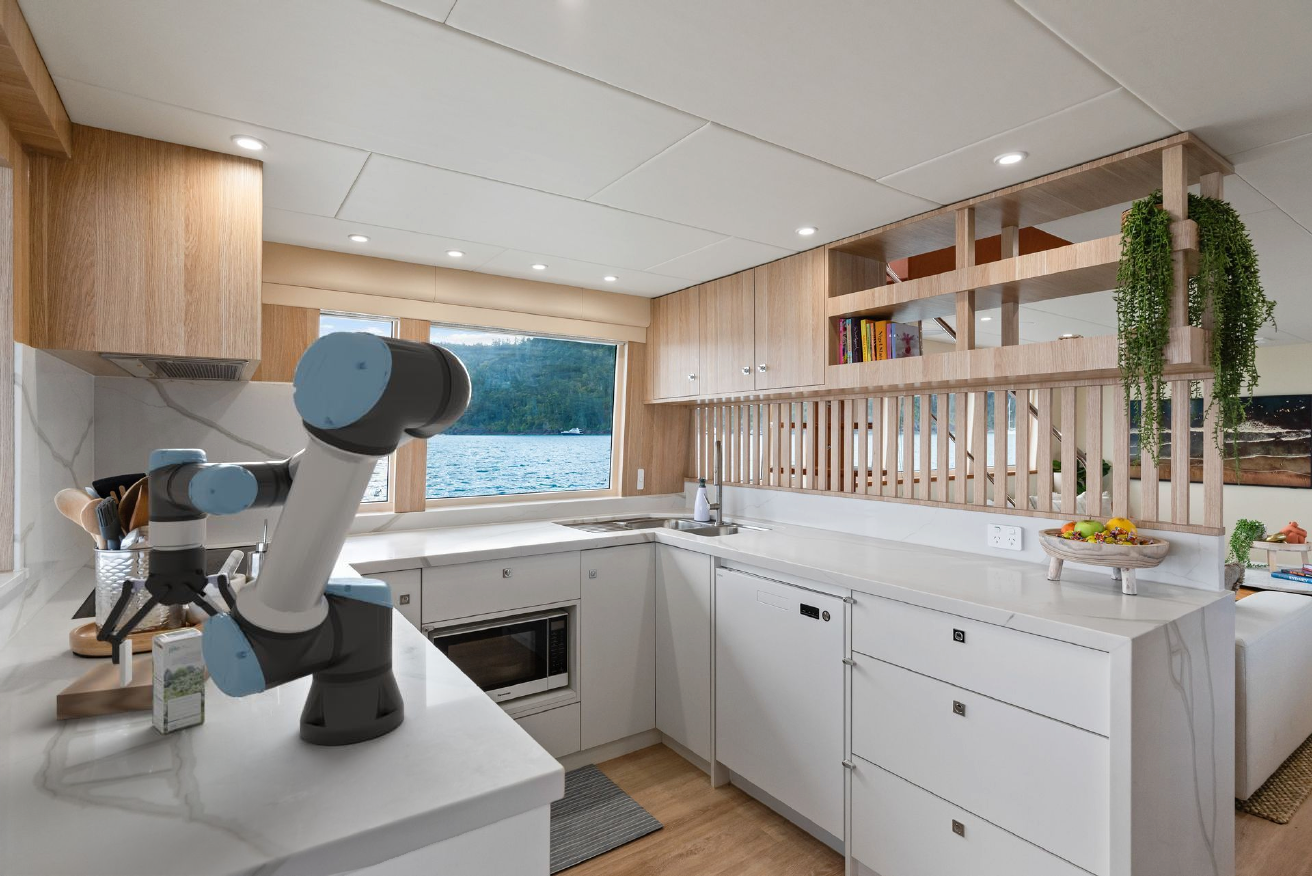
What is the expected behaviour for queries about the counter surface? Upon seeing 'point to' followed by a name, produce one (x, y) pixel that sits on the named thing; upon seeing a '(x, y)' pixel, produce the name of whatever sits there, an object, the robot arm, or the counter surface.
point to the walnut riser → (108, 691)
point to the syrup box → (178, 680)
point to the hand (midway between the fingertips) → (177, 678)
